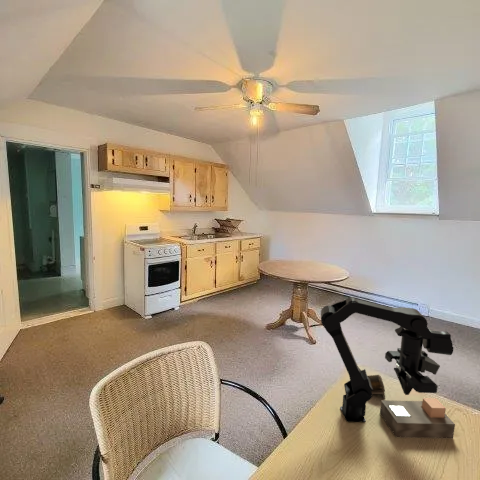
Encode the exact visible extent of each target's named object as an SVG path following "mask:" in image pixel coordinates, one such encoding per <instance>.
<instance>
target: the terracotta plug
mask: <svg viewBox="0 0 480 480" xmlns="http://www.w3.org/2000/svg"><path fill="white" fill-rule="evenodd" d="M422 401H423V402H422V409H423V410H424V411H425V412H426V413H427V414H428V415H429V417H430V418H444V417H445V414H446V410H447V409H446V406H444V405H443V403H441V402H440V401H439V400H438V399H437V398H434V397H433V398H432V397H431V398H430V397H429V398H427V397H423V398H422Z"/></svg>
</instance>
